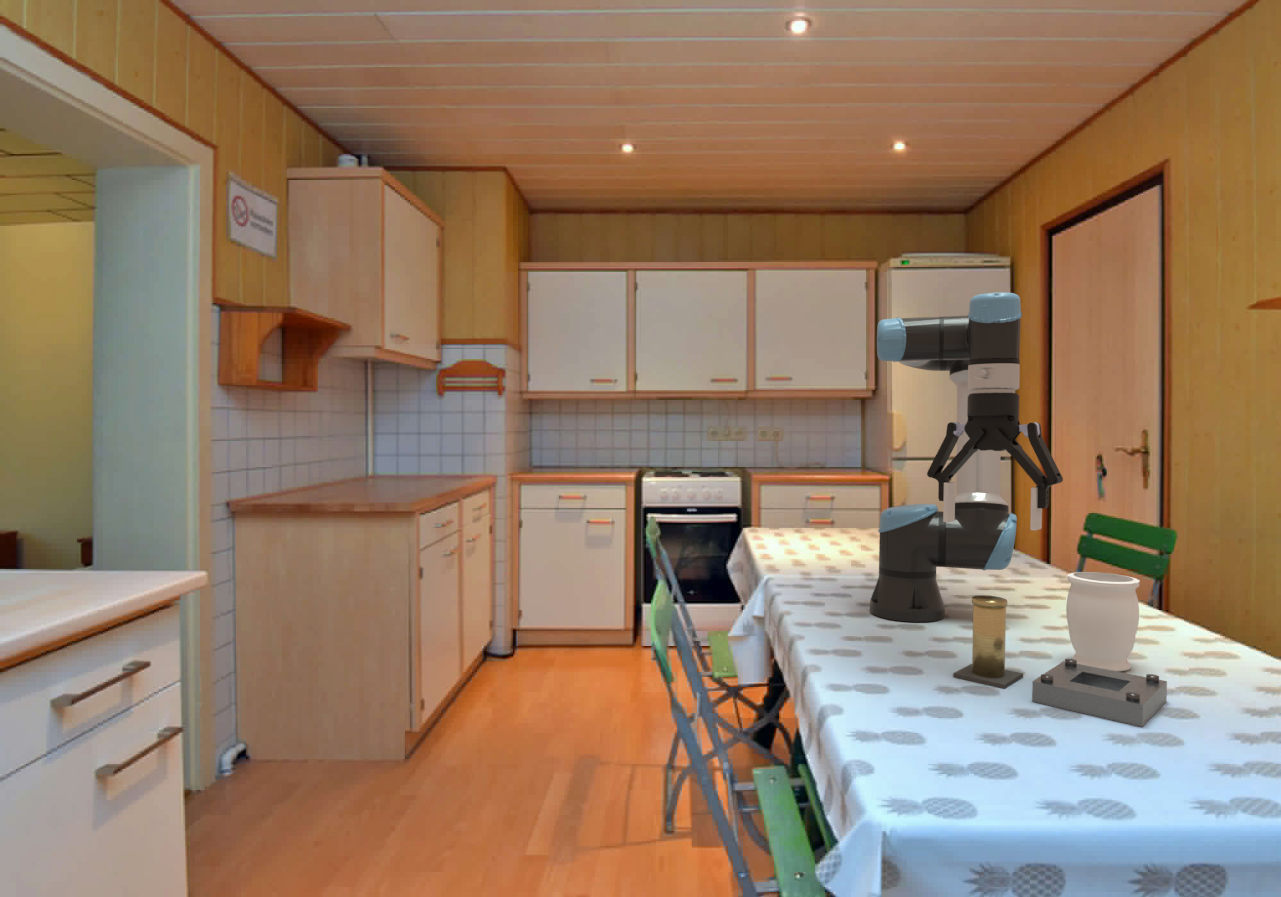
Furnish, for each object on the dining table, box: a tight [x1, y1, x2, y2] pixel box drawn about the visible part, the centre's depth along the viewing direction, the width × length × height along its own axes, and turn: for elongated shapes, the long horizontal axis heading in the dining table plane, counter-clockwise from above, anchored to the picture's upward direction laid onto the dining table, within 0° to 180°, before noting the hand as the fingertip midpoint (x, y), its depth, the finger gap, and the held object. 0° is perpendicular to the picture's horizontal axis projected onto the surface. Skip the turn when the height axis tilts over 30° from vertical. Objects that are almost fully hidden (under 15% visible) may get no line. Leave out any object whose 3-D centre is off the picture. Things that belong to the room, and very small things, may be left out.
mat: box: [952, 663, 1024, 690], centre depth 129 cm, size 8×8×1 cm
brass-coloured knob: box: [971, 595, 1008, 678], centre depth 128 cm, size 5×5×12 cm
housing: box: [1031, 658, 1168, 728], centre depth 117 cm, size 14×14×4 cm
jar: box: [1065, 571, 1141, 672], centre depth 135 cm, size 11×10×15 cm
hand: (990, 525), depth 128 cm, fingers open, 13 cm apart
